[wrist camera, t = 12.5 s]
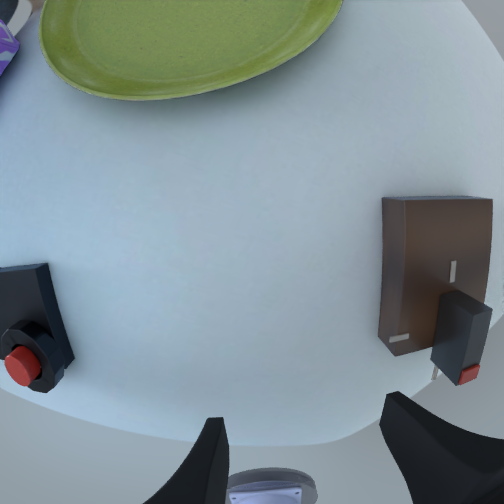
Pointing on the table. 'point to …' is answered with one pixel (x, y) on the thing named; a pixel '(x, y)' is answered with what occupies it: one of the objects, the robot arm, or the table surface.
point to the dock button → (22, 365)
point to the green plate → (174, 42)
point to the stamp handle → (460, 336)
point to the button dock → (33, 322)
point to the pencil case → (6, 46)
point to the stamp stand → (430, 263)
